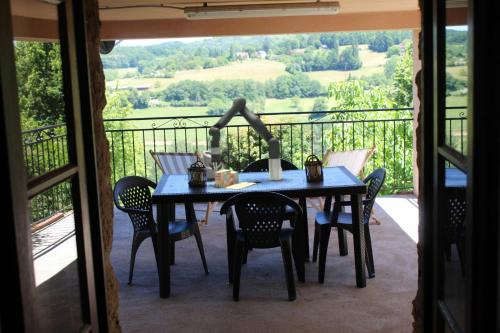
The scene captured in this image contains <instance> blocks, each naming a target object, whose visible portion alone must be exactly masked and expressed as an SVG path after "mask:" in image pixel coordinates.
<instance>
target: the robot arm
mask: <svg viewBox="0 0 500 333" xmlns="http://www.w3.org/2000/svg"><path fill="white" fill-rule="evenodd" d="M238 113H239V114H240V115H241V116H242V117H243V118H244V119H245V121H246V122H247V123H248V125H249V126H250V127H251V128H252V129H253V130H254V131H255V133H257V134H258V135H259V136H260V137H261V138H262V139H263V140H264V141H265V143H266V144H267V147H268V169H269V170H268V173H269V181H280V180H283V168H282V167H281V142H280V141H279V139H278V138H277V137H275V135H273V133H272V132H270V130H269V129H268V127H267V126H266V125H265V123H264V122H263V121H262V120H261V118H260V117H259V116H258V115H257V114H255V113H253V112H252V111H251V110H249V109H248V107H247V100H246V98H245V97H243V96H239V97H237V98H235V99H234V100H233V101H232V106H231V107H230V108H229V109H228V110H227V111H226V112H225V113H224V114H223V115H222V116H221V117H220V118H219V120H217V122H216V123H214V124H213V125H212V126H211V127H210V128H209V129H208V132H207V133H208V135H209V136H210V137H212V139H211V140H210V152H211V159H212V160H211V163H209V165H210V167H211V168H212V169H213V170H215V172H217V171H221V169H222V168H223V166H224V165H225V164H224V162H222V159H221V155H222V154H221V148H220V147H221V144H220V141H221V130H223V129H225V128H226V126H227V125H228V124H229V123H230V122H231V120H232V119H233V118H234V117H235V116H236V114H238Z"/></svg>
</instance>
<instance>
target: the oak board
mask: <svg viewBox="0 0 500 333" xmlns="http://www.w3.org/2000/svg"><path fill="white" fill-rule="evenodd" d="M256 184H257V182H243V181H241V182H240V181H239V183H237V184H234V185H230V186H227V187H223V189H224V190H242V189H246V188H248V187H251V186H253V185H256Z"/></svg>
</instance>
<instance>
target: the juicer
mask: <svg viewBox="0 0 500 333" xmlns="http://www.w3.org/2000/svg"><path fill="white" fill-rule="evenodd" d="M211 160H212V159H211V150H203V151H202V154H201V155H200V163H199V162H198V163H199V165H200V166H201V167H203V165H204V166H205V167H206V170H207V182H206V183H215V170H213V169H212V168H211V167H210V165H209V163H211ZM201 162H203V164H202V163H201ZM192 164H193V163H190V164H189V168H190V167H191V165H192Z"/></svg>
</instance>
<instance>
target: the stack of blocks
mask: <svg viewBox="0 0 500 333" xmlns="http://www.w3.org/2000/svg"><path fill="white" fill-rule="evenodd" d="M239 177H240V176H239V171H232V170H231V169H222V170H221V169H220V170H219V171H217V172H215V182H214V183H215V188H219V189H222V188H223V189H224V188H226V187H228V186H231V185H234V184H237V183H240V179H239Z"/></svg>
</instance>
